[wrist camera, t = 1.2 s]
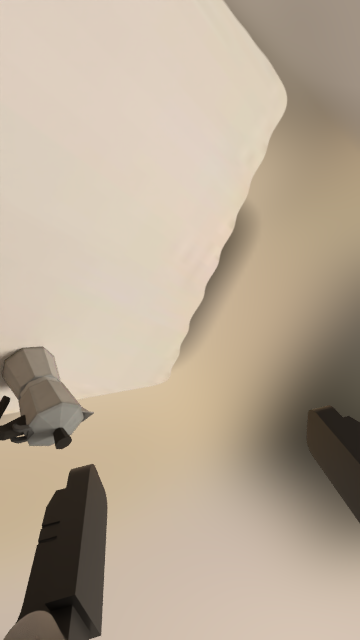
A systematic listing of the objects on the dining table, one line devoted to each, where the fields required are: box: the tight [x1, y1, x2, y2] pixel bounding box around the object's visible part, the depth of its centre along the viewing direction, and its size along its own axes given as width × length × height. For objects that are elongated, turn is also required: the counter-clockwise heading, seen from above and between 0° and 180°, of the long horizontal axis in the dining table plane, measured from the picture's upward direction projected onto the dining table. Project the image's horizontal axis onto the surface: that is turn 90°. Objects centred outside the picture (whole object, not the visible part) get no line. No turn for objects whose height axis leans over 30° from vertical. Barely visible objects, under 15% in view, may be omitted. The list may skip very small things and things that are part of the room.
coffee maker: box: [0, 347, 94, 449], centre depth 46 cm, size 15×9×18 cm, turn 63°
